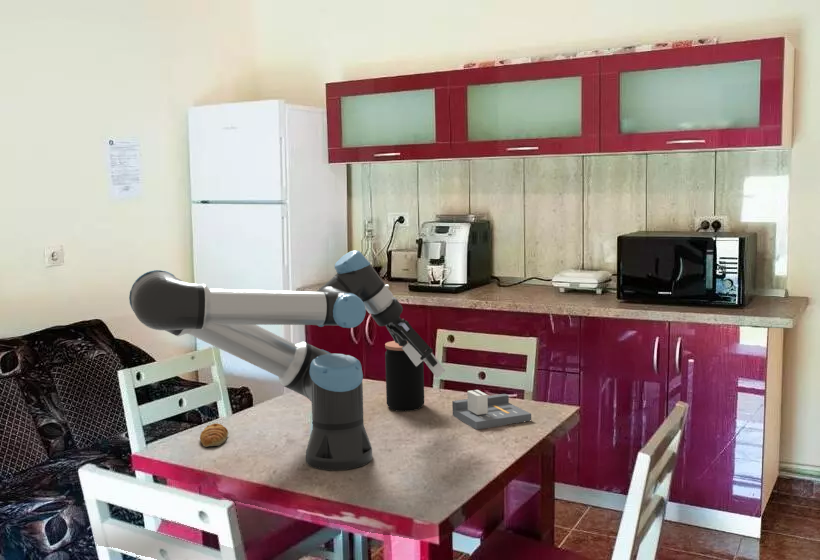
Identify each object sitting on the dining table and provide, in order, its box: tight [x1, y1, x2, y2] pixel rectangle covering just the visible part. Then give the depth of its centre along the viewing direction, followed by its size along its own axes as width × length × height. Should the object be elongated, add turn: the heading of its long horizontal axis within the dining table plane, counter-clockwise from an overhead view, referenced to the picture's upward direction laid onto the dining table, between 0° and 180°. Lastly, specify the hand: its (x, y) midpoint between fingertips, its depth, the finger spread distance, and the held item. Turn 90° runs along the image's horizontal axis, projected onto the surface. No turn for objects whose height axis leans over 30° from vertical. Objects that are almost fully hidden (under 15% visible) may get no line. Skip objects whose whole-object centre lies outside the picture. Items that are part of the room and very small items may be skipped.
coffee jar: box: [384, 340, 425, 412], centre depth 229 cm, size 11×11×18 cm
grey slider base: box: [452, 393, 532, 431], centre depth 216 cm, size 16×14×4 cm
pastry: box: [199, 422, 229, 448], centre depth 202 cm, size 9×7×4 cm
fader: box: [467, 389, 489, 415], centre depth 214 cm, size 3×6×5 cm, turn 22°
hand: (430, 368), depth 209 cm, fingers open, 13 cm apart
